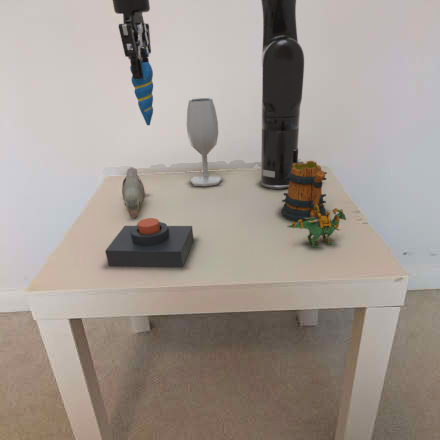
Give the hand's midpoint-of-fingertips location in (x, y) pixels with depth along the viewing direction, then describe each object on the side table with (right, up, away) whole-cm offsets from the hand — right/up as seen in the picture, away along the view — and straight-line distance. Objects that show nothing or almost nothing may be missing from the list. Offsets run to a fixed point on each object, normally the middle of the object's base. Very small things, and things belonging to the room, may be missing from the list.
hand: (142, 77), depth 92 cm
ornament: (+1, -9, +6) cm, 11 cm away
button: (+5, -38, -17) cm, 42 cm away
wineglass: (+14, -19, +20) cm, 31 cm away
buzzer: (+5, -42, -15) cm, 45 cm away
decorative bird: (-3, -29, +7) cm, 30 cm away
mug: (+37, -33, -4) cm, 50 cm away
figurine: (+36, -41, -15) cm, 57 cm away
